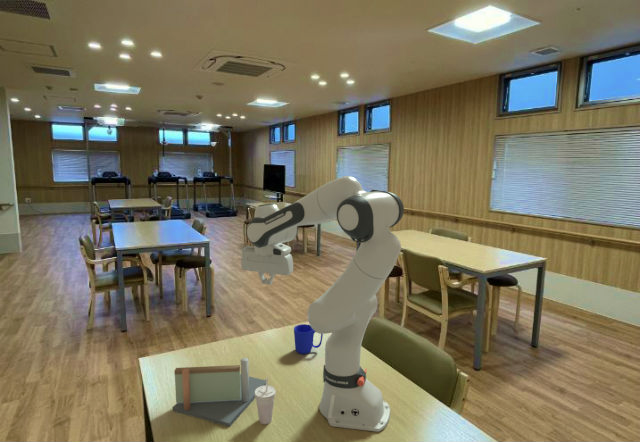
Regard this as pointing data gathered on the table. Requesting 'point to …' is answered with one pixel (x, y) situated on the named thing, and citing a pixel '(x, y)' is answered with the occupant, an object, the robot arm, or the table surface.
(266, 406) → the smoothie
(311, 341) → the mug
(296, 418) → the table surface
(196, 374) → the panel
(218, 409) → the board
